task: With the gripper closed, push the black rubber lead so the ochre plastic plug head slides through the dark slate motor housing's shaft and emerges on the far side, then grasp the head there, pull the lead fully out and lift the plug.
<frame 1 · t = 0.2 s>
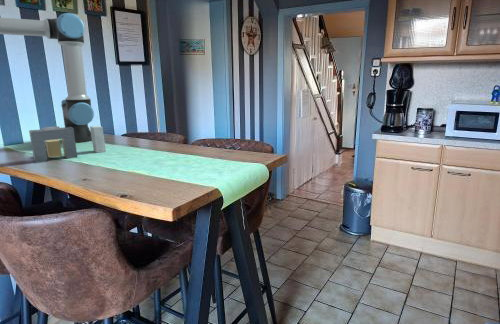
housing: (56, 158, 148), on the table
plug: (54, 155, 154), on the table
skincare box: (99, 151, 162), on the table
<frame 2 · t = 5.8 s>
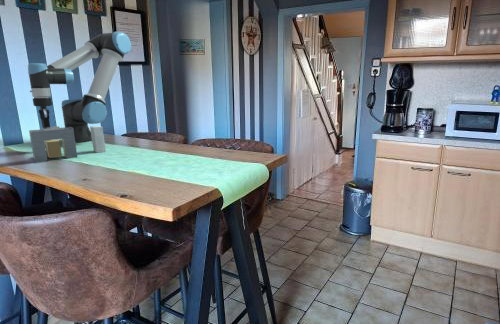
hand: (49, 146, 163), 2 cm above the table, fingers closed
plug: (54, 155, 153), on the table, touching gripper
everything else where it was.
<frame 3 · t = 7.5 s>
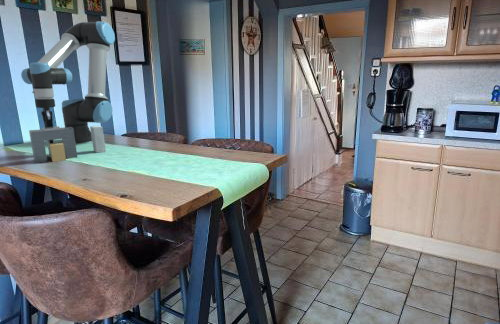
hand: (52, 149, 156), 2 cm above the table, fingers closed
plug: (58, 159, 146), on the table, touching gripper
everything else where it was.
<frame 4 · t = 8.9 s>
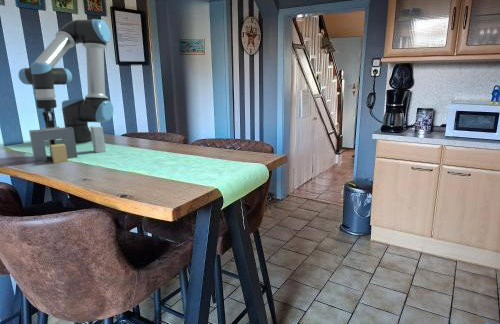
hand: (53, 151, 154), 2 cm above the table, fingers closed
plug: (60, 161, 143), on the table
everything else where it was.
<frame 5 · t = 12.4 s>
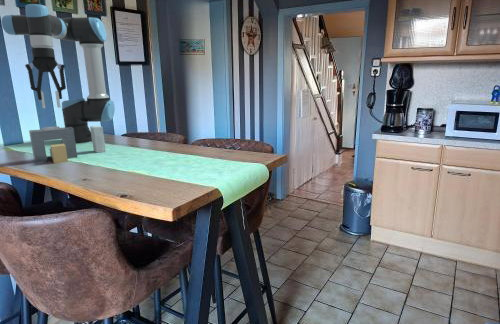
hand: (51, 107, 137), 23 cm above the table, fingers open, 5 cm apart
nothing on the table moved.
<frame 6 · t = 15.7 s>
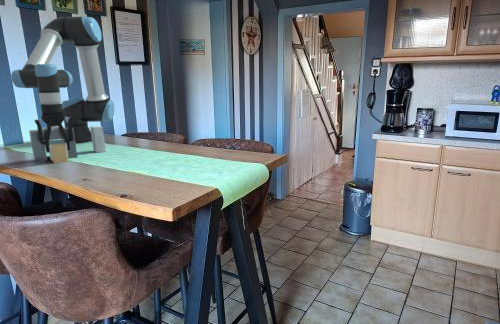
hand: (59, 158, 142), 1 cm above the table, fingers closed on plug, 5 cm apart
plug: (59, 161, 143), on the table, touching gripper
everything else where it was.
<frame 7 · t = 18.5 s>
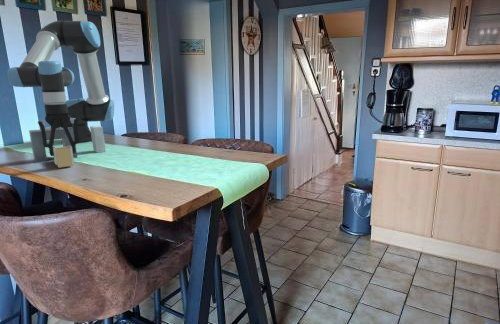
hand: (64, 162, 133), 2 cm above the table, fingers closed on plug, 5 cm apart
plug: (64, 165, 134), point 1 cm above the table, touching gripper
everything else where it was.
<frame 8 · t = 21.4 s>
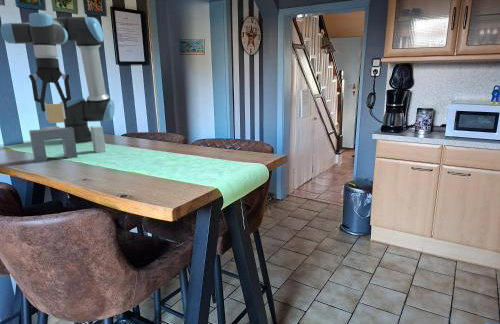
hand: (56, 119, 133), 19 cm above the table, fingers closed on plug, 5 cm apart
plug: (56, 122, 133), point 17 cm above the table, touching gripper
everything else where it was.
at the end: plug inside the target area (5.5 cm from its centre), point 17.4 cm above the table; the gripper is holding plug; plug touching gripper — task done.
